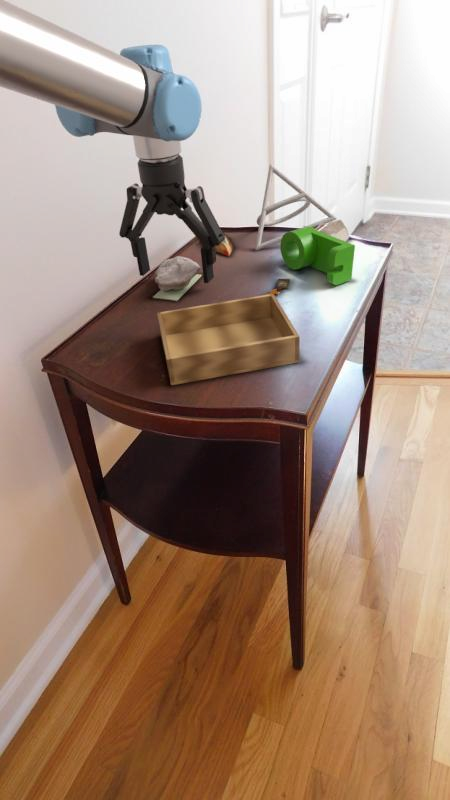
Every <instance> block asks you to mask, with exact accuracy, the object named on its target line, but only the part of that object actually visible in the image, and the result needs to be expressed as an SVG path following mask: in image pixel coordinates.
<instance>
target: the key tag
mask: <svg viewBox="0 0 450 800" xmlns="http://www.w3.org/2000/svg"><path fill="white" fill-rule="evenodd" d="M290 282H291V279H290V278H278V279H277V282H276V285H275V288H272V289H271V290H270V291H268V292H269V293H268V292H267V293H265V294H264V295H268V294H274V295H279V294H281V291H283V289H285V290H286V289H289V286H290Z"/></svg>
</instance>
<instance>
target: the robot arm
mask: <svg viewBox="0 0 450 800" xmlns="http://www.w3.org/2000/svg"><path fill="white" fill-rule="evenodd" d="M0 88H4V89H7V90H10V91H13V92H15V93H18V94H22V95H24V96H27V97H30V98H33V99H36V100H39V101H42V102H45V103H48V104H51V105H54V107H55V112H56V115H57V117H58V120H59V121H60V124H61V125H62V127H63V128H64V129H65V130H66V131H67V132H68V133H69V134H70V135H71V136H73V137H77V138H82V137H86V136H90V137H94V135H96V134H99V133H109V134H118V135H125V136H132V139H133V145H134V150H135V152H134V153H135V157H136V158H138V161H137V169H138V174H139V180H140V183H141V184H142V186H140V185H139V183H133V184H131V185H130V186H128V187H127V188H126V205H125V208H124V212H123V216H122V220H121V224H120V228H119V233H118V234H119V237H120V238H125V239H128V241H129V242H130V247H131V252H132V255H133V257H134V258H136V263H137V267H138V273H139V276H141V277H144V276H145V275H146V274H148V273H149V272H150V271H151V267H150V260H149V254H148V248H147V243H146V238H145V237H142V235H143V232H144V231H145V229H146V227H147V225H148V224H149V222H150V221H151V219H152V218H153V216H154V215H155V213H156V215H161V216H162V215H167V216H174V215H175V216H176V217H177V218H178V219H179V220H182V222H183V223H184V224H185V225H186V227H187V228H188V229H189V230H190V232H191V233H192V234H193V235H194V236H195V238H197V239H198V241H199V242H200V243H201V244H202V247H200V257H201V267H202V277H203V283H204V284H209V283H210V282H211V281H212V280H213V279H214V278H215V275H214V264H215V263H216V261H217V252H216V250H215V246H218V245H219V244H220V243H221V242H222V241H223V240H224V239H225V236H224V234H223V232H224V231H223V230H222V229H221V227H220V225H219V222H218V221H217V218H216V217H215V215H214V214H213V212H212V209H211V208H210V206H209V204H208V202H207V201H206V197H205V192H204V188H203V187H202V186H201V185H197V187H195V188H187V187H186V183H185V180H186V179H185V178H186V177H185V168H184V159H183V156H181V153H182V143H181V142H183V141H186V140H187V139H189V138H191V137H192V136H193V135H194V134H195V132H196V131H197V129H198V127H199V125H200V122H201V121H200V119H201V118H202V117H201V116H202V111H203V109H202V108H203V107H202V106H203V105H202V98H201V94H200V92H199V90H198V87H197V86H196V84H195V83H194V81H193V80H192V79H190V78H189V77H188V76H186V75H182V74H176V73H174V72H173V67H172V61H171V55H170V51H169V49H168V48H167V47H166V46H165V45H163V44H143V45H135V46H128V47H126V48H122V49H121V50H120V52H119V53H117V52H115V51H113V50H110V49H109V48H106V47H104V46H102V45H100V44H97V43H95V42H93V41H92V40H89V39H87V38H85V37H83V36H81V35H79V34H76V33H74V32H73V31H70V30H68V29H66V28H64V27H62V26H60V25H57V24H55V23H53V22H52V21H49V20H47V19H45V18H43V17H41V16H38V15H36V14H34V13H32V12H30V11H28V10H26V9H24V8H21V7H19V6H17V5H15V4H13V3H11V2H10V1H7V0H0ZM141 198H143V199H144V200H145V202H146V205H145V207H143V209H142V213H141V214H140V216H139V218H138V220H137V221H136V222H135V220H136V216H137V212H138V208H139V204H140V200H141ZM187 198H188V199H189V202H190V203H191V204H192V206H193V208H194V210H195V212H196V213H195V212H194V211H193V209H192V206H191V205H190V204H189V202H188V201H187ZM196 214H197V215H196ZM134 224H135V225H134ZM222 231H223V232H222Z"/></svg>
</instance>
